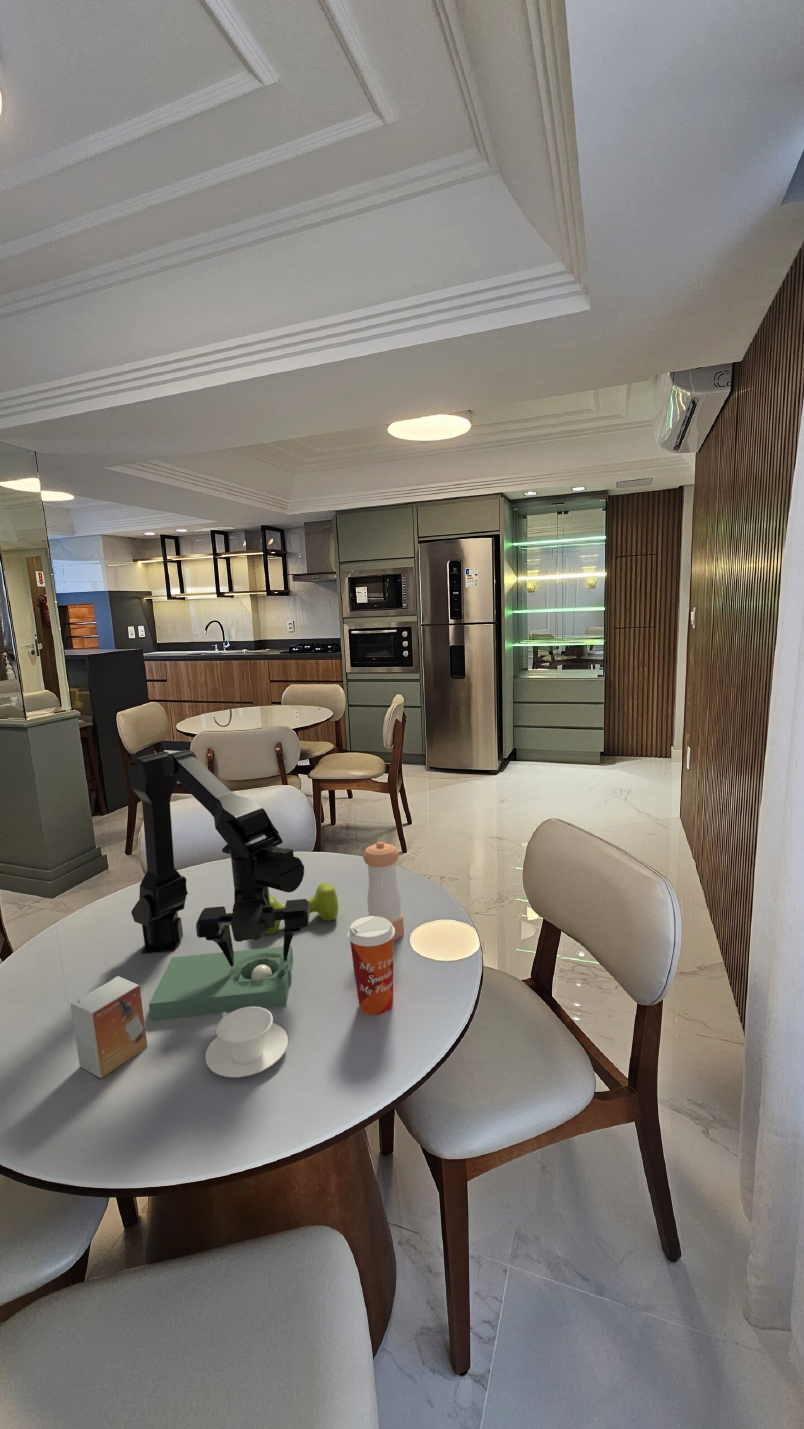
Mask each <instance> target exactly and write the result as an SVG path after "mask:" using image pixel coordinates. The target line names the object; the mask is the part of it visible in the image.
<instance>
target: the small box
mask: <svg viewBox="0 0 804 1429" xmlns="http://www.w3.org/2000/svg"><path fill="white" fill-rule="evenodd" d="M141 993H142V992H141V987H140V985H139V984H137V983H135V982H132V981H130V980H128V979H126V978H124V977H121V976H119V975H117V976H115V977H114V978H112V979H111V980H109V981H108V982H106V983H104V984H102V985H100V986H99V987H98V988H96V989H94V990H92V991H90V992H88V993H87V994H84V995H83V996H82V997H80V998H78V999H75V1000H73V1001H72V1002H70V1003H69V1005H70V1012H71V1019H72V1024H73V1032H74V1039H75V1044H76V1050H77V1052H76V1053H77V1057H78V1058H77V1059H78V1064H79V1067H81V1068H82V1069H84V1070H85V1071H87V1072H89V1073H91V1074H93V1075H94V1076H96V1077H98V1078H100V1079H103V1078H104V1077H106V1076H107V1075H108V1074H109V1073H111V1072H113V1071H114V1070H115V1069H117V1068H118V1067H120V1066H122V1064H124V1063H126V1062H127V1061H128V1060H130V1059H131V1058H133V1057H134V1056H136V1055H137V1054H138V1053H140V1052H142V1051H143V1050H145V1049H147V1048H148V1039H147V1038H148V1037H147V1032H146V1025H145V1024H146V1023H145V1018H144V1016H145V1015H144V1008H143V1003H142V1000H143V999H142V995H141Z"/></svg>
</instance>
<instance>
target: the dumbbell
mask: <svg viewBox="0 0 804 1429" xmlns="http://www.w3.org/2000/svg"><path fill="white" fill-rule="evenodd" d="M269 897H270V907H272V906H273V908H274V909H280V908H285V906H286V902H285V903H280V902H278V900H277V899H276V897H274V895H272V894H269ZM305 899H306V900H307V901H308V902H309V907H310V914H311V913H318V914H319V916H320V917H321V919H322V920H324V921H325V922H330V921H333V920H336V918H337V917H338V913H339V901H338V894H337V891H336V890H335V887H334V886H333V884H332V883H330V882H323V883H320V884H319V885H318V886H317V888H316V892H315V894H314V896H313V897H310V898H309V897H308V898H305ZM281 922H282V920H277V921H275V927H274V928H270V929H268V931H264V934H265V935H271V934H274V933H277V932H278V931H279V930H280V925H281Z"/></svg>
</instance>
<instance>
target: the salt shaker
mask: <svg viewBox="0 0 804 1429" xmlns="http://www.w3.org/2000/svg"><path fill="white" fill-rule="evenodd" d="M399 856H400V853H399V851H398V849H397V847H395V846H394V845H393V844H390V843H385V842H383V841H377V843H375V844H372V845H369V846H367V847H366V848H365V850H364V852H363V856H362V857H363V862H364V863H365V865H367V869H368V892H367V910H368V912H367V913H368V915H367V917H369V916H378V917H383V918H386V919H387V920H389V921H390V922H391V923H392V925H393V927H394V928H395V935H394V937H393V941H396V940H398V939H400V938H401V937H402V936H403V935H404V932H405V928H404V927H405V926H404V925H405V924H404V915H403V913H402V910H401V909H402V907H401V906H402V905H401V902H402V901H401V896H400V892H399V886H398V882H397V870H396V869H397V868H396V863H397V861H398V860H399Z"/></svg>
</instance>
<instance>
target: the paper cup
mask: <svg viewBox="0 0 804 1429" xmlns="http://www.w3.org/2000/svg"><path fill="white" fill-rule="evenodd" d="M394 935H395V928H394V927H393V925H392V923H391V922H390V921H389V920H387V919H386V918H383V917H378V916H369V917H368V916H364V917H361V918H358V919H356V920H355V921H353V922H352V923H351V924H350V928H349V930H348V932H347V939H348V941H349V942H350V948H351V949H350V950H351V956H352V958H351V959H352V965H353V966H352V967H353V973H354V974H353V975H354V981H355V986H356V993H357V999H358V1005H359V1009H360V1011H361V1012H362V1013H364V1014H366V1015H369V1016H377V1015H378V1016H379V1015H383V1014H385V1013H387V1012H389V1011H390V1010H391V1009H392V1007H393V1005H394V940H393V937H394Z"/></svg>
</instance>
